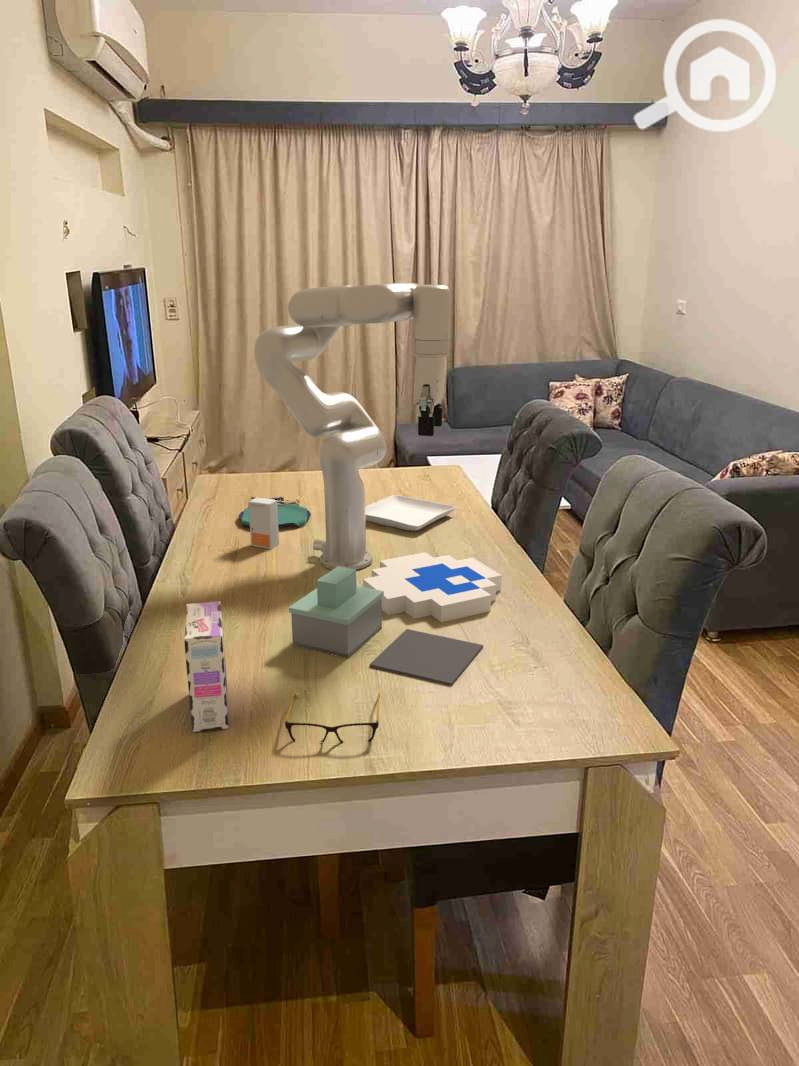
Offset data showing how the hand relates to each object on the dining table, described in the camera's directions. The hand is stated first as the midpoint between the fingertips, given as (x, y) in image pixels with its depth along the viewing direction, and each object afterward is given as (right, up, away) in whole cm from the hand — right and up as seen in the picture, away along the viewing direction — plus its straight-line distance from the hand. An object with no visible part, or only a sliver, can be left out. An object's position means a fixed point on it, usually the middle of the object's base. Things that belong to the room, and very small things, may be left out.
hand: (430, 430), depth 173 cm
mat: (-1, -45, -21) cm, 49 cm away
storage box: (-18, -42, -13) cm, 48 cm away
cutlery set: (-42, -17, +60) cm, 75 cm away
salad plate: (-5, -18, +56) cm, 59 cm away
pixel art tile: (+1, -35, +8) cm, 36 cm away
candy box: (-38, -51, -38) cm, 74 cm away
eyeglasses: (-17, -52, -41) cm, 68 cm away
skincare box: (-41, -25, +35) cm, 59 cm away
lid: (-18, -35, -15) cm, 43 cm away
